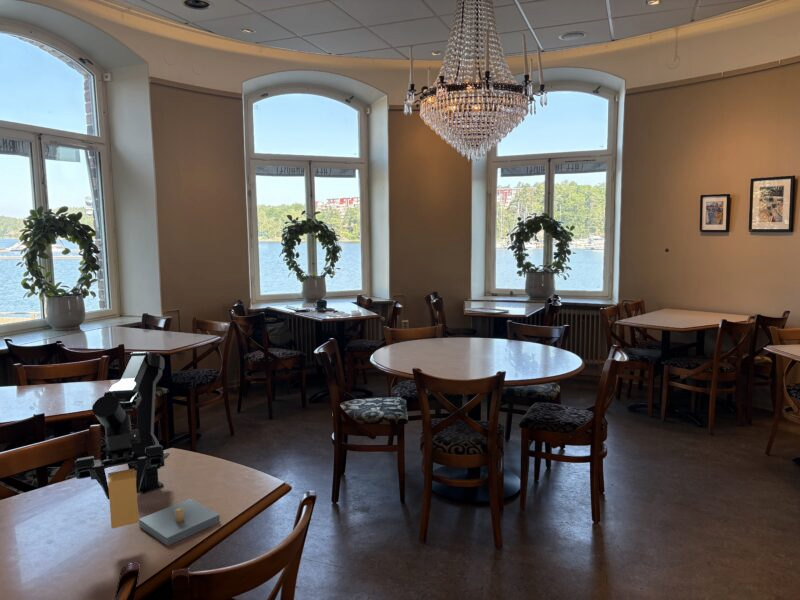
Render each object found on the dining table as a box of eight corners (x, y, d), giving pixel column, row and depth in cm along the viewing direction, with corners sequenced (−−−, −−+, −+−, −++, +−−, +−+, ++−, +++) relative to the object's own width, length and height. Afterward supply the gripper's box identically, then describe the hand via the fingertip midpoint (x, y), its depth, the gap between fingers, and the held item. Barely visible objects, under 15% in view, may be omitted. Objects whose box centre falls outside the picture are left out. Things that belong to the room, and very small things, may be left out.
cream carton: (111, 517, 129) (107, 473, 128) (137, 511, 132) (134, 468, 131) (111, 528, 125) (108, 482, 123) (138, 522, 127) (135, 477, 126)
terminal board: (139, 526, 138) (138, 507, 138) (190, 505, 149) (189, 487, 149) (167, 545, 130) (166, 526, 129) (219, 522, 140) (218, 503, 140)
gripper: (71, 425, 125) (73, 491, 116) (160, 412, 133) (167, 473, 125) (75, 447, 132) (77, 510, 124) (159, 433, 141) (166, 491, 133)
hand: (123, 495), depth 126 cm, fingers closed on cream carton, 6 cm apart
